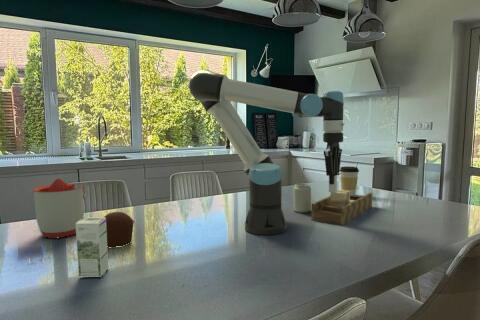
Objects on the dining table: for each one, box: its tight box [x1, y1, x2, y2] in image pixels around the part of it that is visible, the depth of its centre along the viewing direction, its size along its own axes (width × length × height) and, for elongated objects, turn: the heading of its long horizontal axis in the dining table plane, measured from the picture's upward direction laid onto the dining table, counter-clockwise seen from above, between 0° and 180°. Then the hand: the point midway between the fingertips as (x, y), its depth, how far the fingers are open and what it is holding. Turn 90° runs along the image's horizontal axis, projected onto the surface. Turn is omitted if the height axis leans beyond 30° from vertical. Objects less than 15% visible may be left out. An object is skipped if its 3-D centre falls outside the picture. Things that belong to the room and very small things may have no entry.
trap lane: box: [311, 190, 373, 226], centre depth 146 cm, size 36×13×6 cm, turn 143°
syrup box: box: [75, 216, 110, 277], centre depth 88 cm, size 6×6×14 cm
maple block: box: [330, 189, 350, 208], centre depth 142 cm, size 6×6×6 cm
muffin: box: [103, 211, 135, 247], centre depth 111 cm, size 12×11×10 cm
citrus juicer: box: [32, 178, 88, 239], centre depth 122 cm, size 16×17×20 cm
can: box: [293, 182, 312, 214], centre depth 150 cm, size 8×8×12 cm
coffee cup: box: [339, 166, 360, 196], centre depth 181 cm, size 10×10×15 cm
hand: (332, 191), depth 135 cm, fingers closed
